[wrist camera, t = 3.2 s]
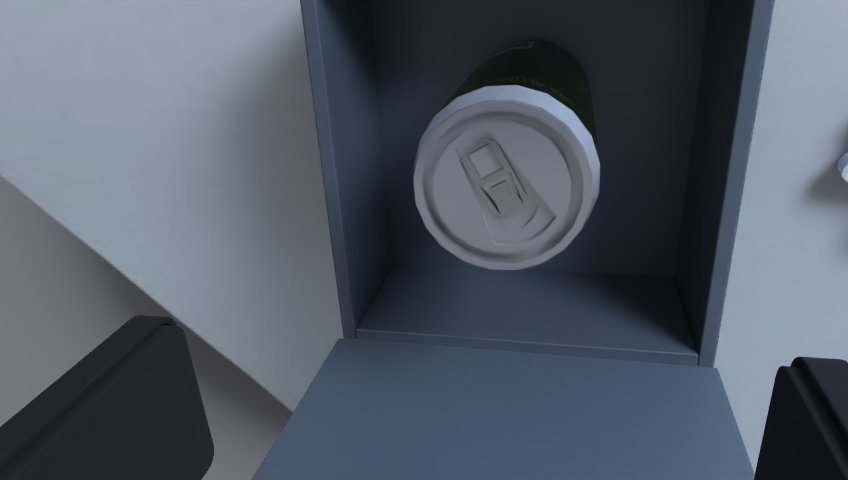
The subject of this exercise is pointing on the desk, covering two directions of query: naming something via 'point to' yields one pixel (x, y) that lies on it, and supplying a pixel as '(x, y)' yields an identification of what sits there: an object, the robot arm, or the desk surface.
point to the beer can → (511, 159)
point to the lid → (505, 419)
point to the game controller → (843, 166)
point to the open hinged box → (619, 172)
